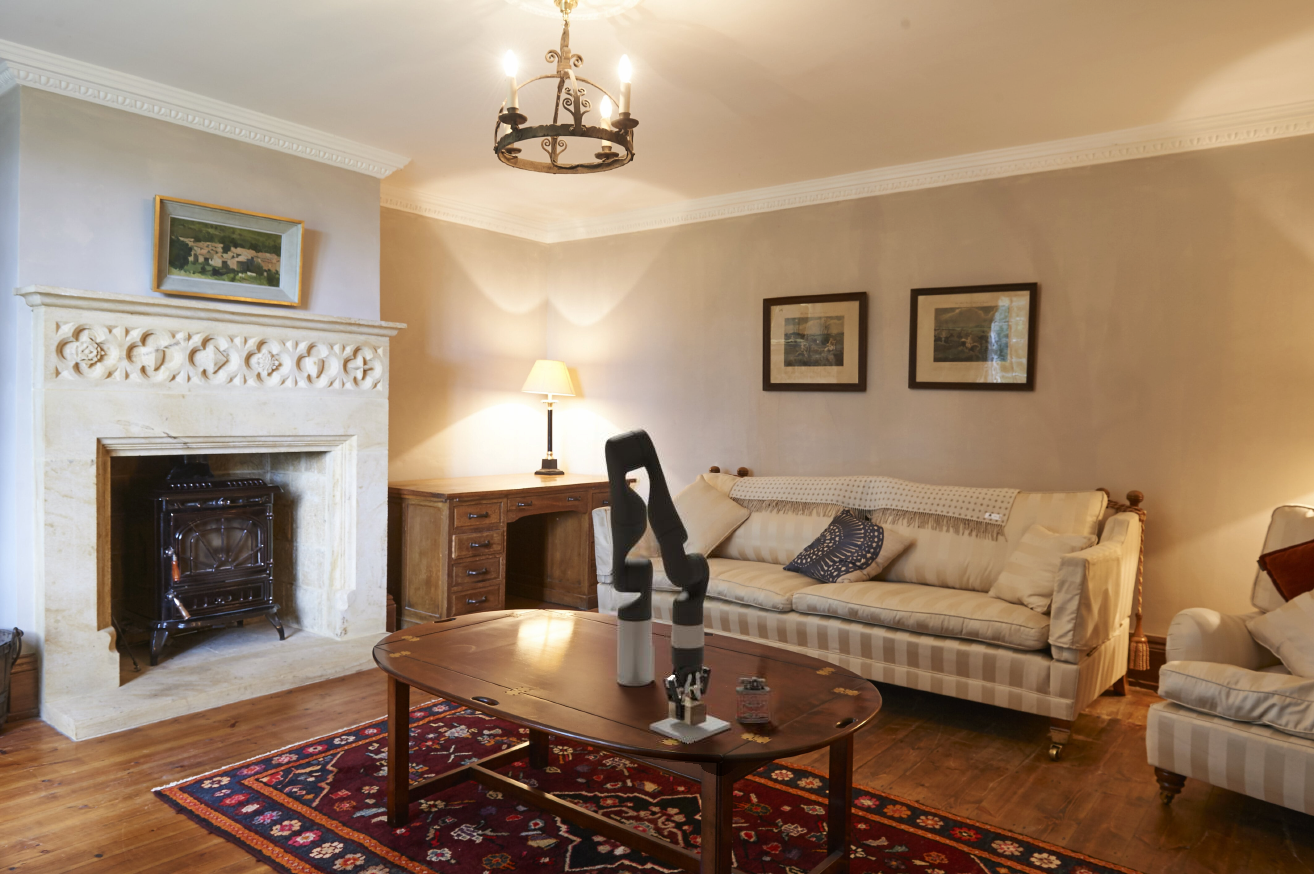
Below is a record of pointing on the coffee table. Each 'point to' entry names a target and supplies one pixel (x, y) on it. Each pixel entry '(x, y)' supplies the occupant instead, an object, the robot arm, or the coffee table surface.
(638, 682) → the robot arm
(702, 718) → the block
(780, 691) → the coffee table surface
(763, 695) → the lighter
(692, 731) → the mat
